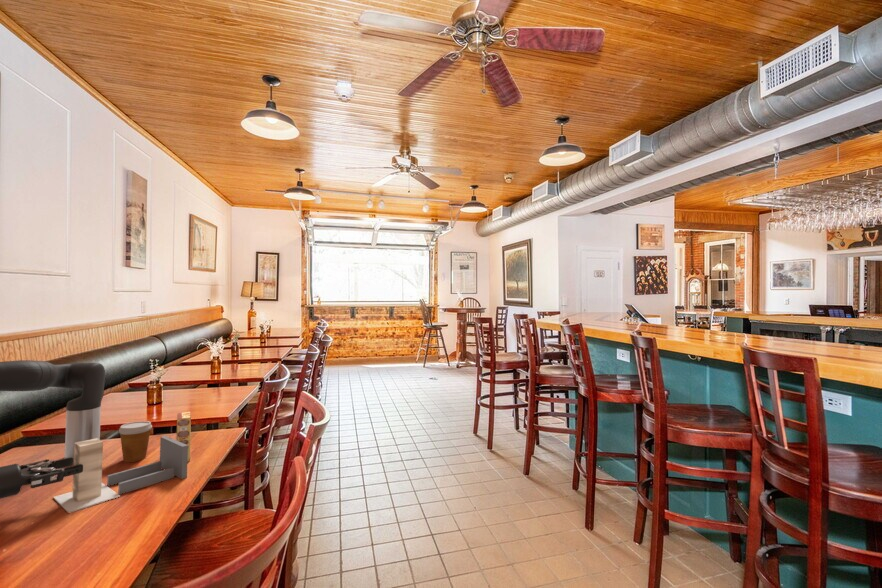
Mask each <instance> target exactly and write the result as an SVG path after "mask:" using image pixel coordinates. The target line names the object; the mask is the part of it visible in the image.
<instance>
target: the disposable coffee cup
mask: <svg viewBox="0 0 882 588" xmlns="http://www.w3.org/2000/svg"><path fill="white" fill-rule="evenodd" d="M152 428H153V425H152V422H151V421H149V420H140V421H132V422H128V423H124V424H122V425H120V426H119V430H118V433H119V434H120V435H119V436H120V444H121V451H122V461H123V462H125V463H135V462H139V461H142V460H144V459H146V458H145V457H147V453H148V448H149V447H148V446H149V440H150V434H151V430H152Z"/></svg>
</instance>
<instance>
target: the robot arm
mask: <svg viewBox="0 0 882 588" xmlns="http://www.w3.org/2000/svg"><path fill="white" fill-rule="evenodd" d="M105 379H106V370H105V366H104V365H103V364H102V363H100V362H73V363H72V362H71V363H63V364H62V363H61V364H53V363H52V362H49V361H45V360H30V359H29V360H24V359H23V360H8V361H0V392H35V391H37V392H38V391H42V390H46V389H48V388H62V389H63V388H64V389H70V390H71V389H72V390H82V393H81V396H78V397H76V398H73V399H70V400H69V401H67V403H66V413H65V414H66V416H65V437H64V438H65V442H64V458H61V459H57V460H54V459H51V460H50V459H42V460H39V461H35V462H30V463H28V464H27V463H25V464H22V465H20V464H18V463H12V464H8V465H3V466H0V500H1V499H5V498H8V497H9V498H10V497H13V496H16V495H18V494H19V493H20V492H21V489H22V487H23V486H27V485H29V486H30V489H35V488H39V487H43V486H48V485H51V484H52V485H53V484H55V483H60V482H63V481H64V479H65V477H70V476H73V475H74V474H78V473H82V472H83V465H82V464H78V465H74V444H75V443H77V442H82V441H86V440H91V439H96V438H97V439H99V440H101V439H100V438H101V409H102V408H101V406H102V401H103V398H104V393H105V391H104V389H105V382H106V381H105Z"/></svg>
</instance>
